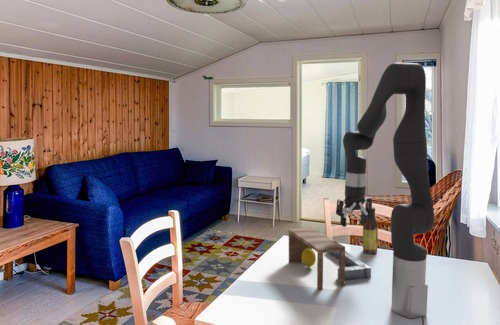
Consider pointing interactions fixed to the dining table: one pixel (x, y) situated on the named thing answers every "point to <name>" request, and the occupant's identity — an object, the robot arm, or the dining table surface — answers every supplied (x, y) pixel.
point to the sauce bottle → (370, 233)
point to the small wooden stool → (320, 244)
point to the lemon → (308, 257)
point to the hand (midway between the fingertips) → (353, 225)
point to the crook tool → (353, 267)
